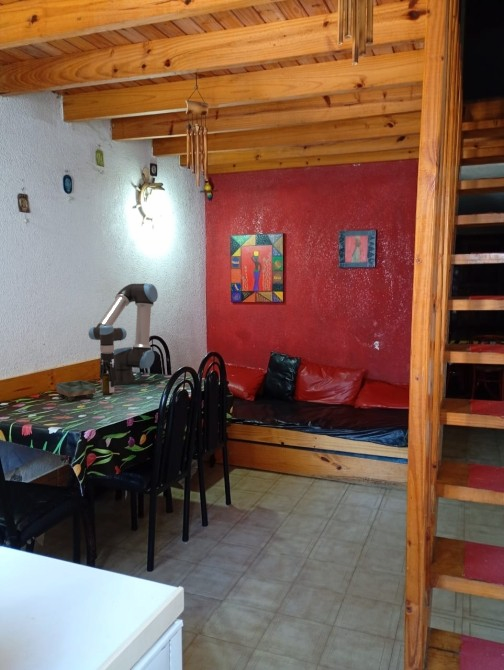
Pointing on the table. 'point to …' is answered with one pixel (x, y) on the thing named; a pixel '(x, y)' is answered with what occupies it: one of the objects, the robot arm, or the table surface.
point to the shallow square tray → (75, 389)
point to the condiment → (106, 385)
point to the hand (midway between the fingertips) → (108, 391)
